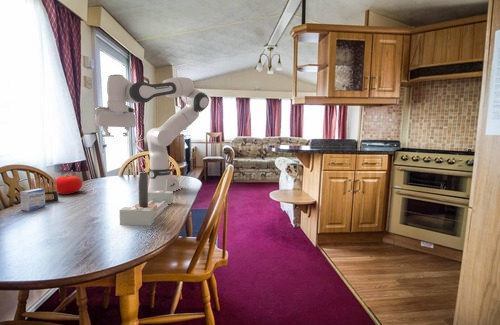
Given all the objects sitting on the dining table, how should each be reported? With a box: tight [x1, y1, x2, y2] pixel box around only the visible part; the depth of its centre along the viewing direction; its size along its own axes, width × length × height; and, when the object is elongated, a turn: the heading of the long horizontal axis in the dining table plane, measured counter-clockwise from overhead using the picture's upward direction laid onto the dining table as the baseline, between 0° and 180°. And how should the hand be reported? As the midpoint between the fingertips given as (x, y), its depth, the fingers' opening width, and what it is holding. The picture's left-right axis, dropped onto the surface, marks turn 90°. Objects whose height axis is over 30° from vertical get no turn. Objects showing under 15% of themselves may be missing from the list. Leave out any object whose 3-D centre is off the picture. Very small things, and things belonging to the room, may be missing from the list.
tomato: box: [55, 174, 83, 195], centre depth 150 cm, size 14×13×10 cm
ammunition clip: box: [30, 177, 59, 203], centre depth 131 cm, size 11×2×12 cm, turn 120°
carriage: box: [132, 171, 157, 211], centre depth 112 cm, size 8×9×17 cm
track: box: [119, 191, 174, 226], centre depth 121 cm, size 34×12×6 cm, turn 1°
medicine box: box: [19, 188, 46, 212], centre depth 121 cm, size 8×4×9 cm, turn 168°
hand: (116, 136), depth 132 cm, fingers open, 8 cm apart
